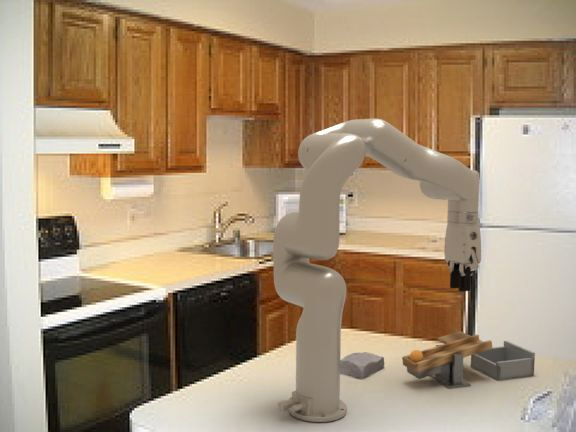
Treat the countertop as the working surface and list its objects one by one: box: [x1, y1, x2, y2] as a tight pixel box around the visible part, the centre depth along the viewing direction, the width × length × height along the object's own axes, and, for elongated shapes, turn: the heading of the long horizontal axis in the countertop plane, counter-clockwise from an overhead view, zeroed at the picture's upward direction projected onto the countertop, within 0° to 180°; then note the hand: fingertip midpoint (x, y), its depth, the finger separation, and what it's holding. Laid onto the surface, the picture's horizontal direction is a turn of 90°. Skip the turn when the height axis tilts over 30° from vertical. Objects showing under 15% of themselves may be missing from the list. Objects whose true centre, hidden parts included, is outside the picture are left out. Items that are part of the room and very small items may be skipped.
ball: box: [409, 349, 423, 363], centre depth 152 cm, size 3×3×3 cm
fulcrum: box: [429, 343, 472, 390], centre depth 155 cm, size 6×10×8 cm, turn 19°
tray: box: [470, 340, 536, 382], centre depth 162 cm, size 11×11×6 cm
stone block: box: [340, 351, 385, 380], centre depth 163 cm, size 12×5×10 cm
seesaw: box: [401, 330, 493, 380], centre depth 158 cm, size 22×14×4 cm, turn 109°
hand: (460, 288), depth 162 cm, fingers open, 3 cm apart
